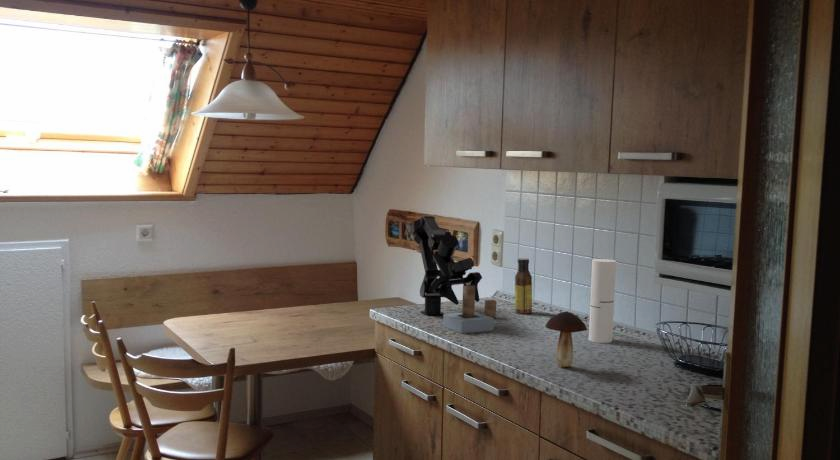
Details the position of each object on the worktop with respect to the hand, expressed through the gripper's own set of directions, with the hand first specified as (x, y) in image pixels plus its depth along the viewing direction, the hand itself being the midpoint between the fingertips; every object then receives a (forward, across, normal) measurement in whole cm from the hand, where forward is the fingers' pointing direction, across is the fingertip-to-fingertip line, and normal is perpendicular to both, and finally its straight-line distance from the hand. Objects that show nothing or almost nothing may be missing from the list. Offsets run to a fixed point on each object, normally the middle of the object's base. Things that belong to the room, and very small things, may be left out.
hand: (468, 302), depth 249 cm
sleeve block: (+6, 0, +6) cm, 8 cm away
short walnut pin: (0, +18, +12) cm, 22 cm away
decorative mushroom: (+41, -11, -30) cm, 52 cm away
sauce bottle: (+1, +34, +11) cm, 36 cm away
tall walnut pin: (+6, 0, +6) cm, 8 cm away
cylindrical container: (+32, +23, -20) cm, 44 cm away
